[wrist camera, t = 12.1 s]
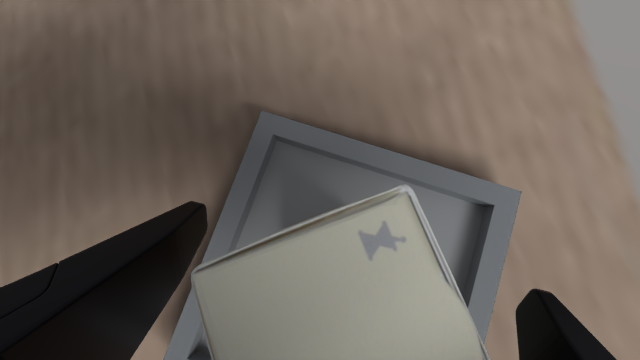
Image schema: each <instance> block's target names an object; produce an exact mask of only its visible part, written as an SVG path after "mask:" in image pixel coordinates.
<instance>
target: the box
mask: <svg viewBox="0 0 640 360" xmlns="http://www.w3.org/2000/svg"><path fill="white" fill-rule="evenodd" d="M191 283H192V288H193V292H194V295H195V299H196V303H197V307H198V311H199V315H200V318H201V322H202V325H203V329H204V332H205V337H206V341H207V345H208V349H209V352H210V355H211V359H212V360H490V357H489V355H488V353H487V351H486V348H485V346H484V344H483V342H482V339H481V337H480V335H479V333H478V330H477V328H476V326H475V324H474V321H473V319H472V317H471V314H470V312H469V310H468V308H467V305H466V303H465V301H464V299H463V297H462V295H461V293H460V290H459V288H458V286H457V284H456V281H455V279H454V277H453V275H452V272H451V270H450V268H449V266H448V264H447V262H446V260H445V257H444V255H443V253H442V251H441V249H440V247H439V245H438V242H437V240H436V238H435V236H434V234H433V231H432V229H431V227H430V225H429V222H428V220H427V218H426V216H425V214H424V212H423V210H422V208H421V206H420V204H419V201H418V199H417V196H416V194H415V192H414V191H413V189H412V188H411V187H410V186H408V185H406V184H403V185H399V186H396V187H394V188H391V189H389V190H386V191H383V192H380V193H377V194H374V195H372V196H369V197H366V198H363V199H361V200H358V201H355V202H352V203H350V204H347V205H344V206H342V207H339V208H336V209H334V210H331V211H328V212H326V213H323V214H321V215H318V216H316V217H313V218H311V219H308V220H306V221H303V222H301V223H298V224H296V225H293V226H291V227H288V228H285V229H283V230H280V231H278V232H275V233H273V234H270V235H268V236H266V237H263V238H261V239H259V240H256V241H254V242H252V243H249V244H247V245H245V246H242V247H240V248H238V249H235V250H233V251H231V252H228V253H226V254H224V255H221V256H219V257H217V258H214V259H212V260H209V261H207V262H204V263H202V264H200V265H198V266H197V267H195V268H194V270H193V271H192V273H191Z"/></svg>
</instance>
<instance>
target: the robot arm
mask: <svg viewBox="0 0 640 360" xmlns="http://www.w3.org/2000/svg"><path fill="white" fill-rule="evenodd" d="M207 226H208V224H207V212H206V206H205V205H204V204H202V203H198V202H194V201H190V202H187V203H185V204H183V205H181V206H179V207H176V208H174V209H172V210H170V211H168V212H166V213H163V214H161V215H159V216H157V217H155V218H153V219H150V220H148V221H146V222H144V223H142V224H140V225H137V226H135V227H133V228H131V229H129V230H127V231H124V232H122V233H120V234H118V235H116V236H114V237H111V238H109V239H107V240H105V241H103V242H101V243H98V244H96V245H94V246H92V247H90V248H88V249H85V250H83V251H81V252H79V253H77V254H75V255H72V256H70V257H68V258H66V259H64V260H62V261H60V262H59V264H58V263H55V264H53V265H51V266H48V267H46V268H44V269H42V270H40V271H38V272H35V273H33V274H31V275H28V276H26V277H24V278H22V279H19V280H17V281H15V282H13V283H10V284H8V285H5V286H3V287H0V360H130V359H131V357H132V356H133V354H134V353H135V351H136V350H137V348H138V347H139V345H140V344H141V342H142V341H143V339H144V337H145V336H146V334H147V333H148V331H149V330H150V328H151V327H152V325H153V324H154V322H155V321H156V319H157V317H158V316H159V314H160V313H161V311H162V310H163V308H164V307H165V305H166V304H167V302H168V301H169V299H170V298H171V296H172V294H173V293H174V291H175V290H176V288H177V287H178V285H179V284H180V282H181V280H182V279H183V277H184V275H185V273H186V271H187V269H188V267H189V265H190V263H191V261H192V259H193V257H194V255H195V253H196V251H197V249H198V248H199V246H200V244H201V242H202V240H203V238H204V236H205V234H206V231H207ZM516 325H517V337H518V349H519V360H616V359H615V358H614V356H613V355H612V354H611V353H610V352H609V351H608V350H607V349H606V348H605V347H604V346H603V345H602V344H601V343H600V342H599V341H598V340H597V339H596V338H595V337H594V336H593V335H592V334H591V333H590V332H589V331H588V330H587V329H586V328H585V327H584V326H583V325H582V324H581V322H580V321H579V320H578V319H577V318H576V317H575V316H574V315H573V314H572V313H571V312H570V311H569V310H568V309H567V308H566V307H565V306H564V305H563V304H562V303H561V302H560V301H559V300H558V299H557V298H556V297H555V296H554V295H553V294H552V293H550V292H548V291H544V290H540V289H532V290H530V291H529V293H528V294H527V295H526V296H525V298H524V299H523V300H522V301H521V303H520V304H519V305H518V307H517V309H516Z"/></svg>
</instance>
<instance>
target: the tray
mask: <svg viewBox="0 0 640 360" xmlns="http://www.w3.org/2000/svg"><path fill="white" fill-rule="evenodd" d="M403 184H406V185H408V186H410V187H411V188H412V189H413V191H414V192H415V194H416V196H417V199H418V201H419V204H420V206H421V208H422V210H423V212H424V214H425V216H426V218H427V220H428V222H429V225H430V227H431V229H432V231H433V234H434V236H435V238H436V240H437V242H438V245H439V247H440V249H441V251H442V253H443V255H444V257H445V260H446V262H447V264H448V266H449V268H450V270H451V272H452V275H453V277H454V279H455V281H456V284H457V286H458V288H459V290H460V293H461V295H462V297H463V299H464V301H465V303H466V305H467V308H468V310H469V312H470V314H471V317H472V319H473V321H474V324H475V326H476V328H477V330H478V333H479V335H480V337H481V339H482V342H483V344H484V342H485V338H486V334H487V330H488V326H489V322H490V318H491V314H492V310H493V306H494V302H495V298H496V294H497V290H498V286H499V282H500V277H501V273H502V269H503V265H504V261H505V257H506V253H507V249H508V245H509V241H510V237H511V233H512V229H513V225H514V221H515V217H516V213H517V208H518V204H519V200H520V196H521V192H522V191H518V190H515V189H512V188H509V187H506V186H502V185H499V184H496V183H493V182H489V181H486V180H483V179H480V178H477V177H473V176H470V175H467V174H464V173H461V172H457V171H454V170H451V169H448V168H445V167H441V166H438V165H435V164H432V163H429V162H425V161H422V160H419V159H416V158H413V157H409V156H406V155H403V154H400V153H397V152H393V151H390V150H387V149H384V148H380V147H377V146H374V145H371V144H368V143H364V142H361V141H358V140H355V139H352V138H348V137H345V136H342V135H339V134H336V133H332V132H329V131H326V130H323V129H320V128H316V127H313V126H310V125H307V124H304V123H300V122H297V121H294V120H291V119H288V118H284V117H281V116H278V115H275V114H271V113H268V112H265V111H261V114H260V116H259V119H258V121H257V124H256V126H255V129H254V131H253V134H252V136H251V139H250V141H249V144H248V146H247V149H246V151H245V154H244V157H243V159H242V162H241V164H240V167H239V169H238V172H237V174H236V177H235V179H234V182H233V184H232V187H231V189H230V192H229V195H228V197H227V200H226V202H225V205H224V207H223V210H222V212H221V215H220V217H219V220H218V222H217V225H216V227H215V230H214V232H213V235H212V238H211V240H210V243H209V245H208V248H207V250H206V253H205V255H204V258H203V260H202V263H204V262H207V261H209V260H212V259H214V258H217V257H219V256H221V255H224V254H226V253H228V252H231V251H233V250H235V249H238V248H240V247H242V246H245V245H247V244H249V243H252V242H254V241H256V240H259V239H261V238H263V237H266V236H268V235H270V234H273V233H275V232H278V231H280V230H283V229H285V228H288V227H291V226H293V225H296V224H298V223H301V222H303V221H306V220H308V219H311V218H313V217H316V216H318V215H321V214H323V213H326V212H328V211H331V210H334V209H336V208H339V207H342V206H344V205H347V204H350V203H352V202H355V201H358V200H361V199H363V198H366V197H369V196H372V195H374V194H377V193H380V192H383V191H386V190H389V189H391V188H394V187H396V186H399V185H403ZM202 263H201V264H202ZM163 360H212V359H211V355H210V352H209V349H208V345H207V341H206V337H205V332H204V329H203V325H202V322H201V318H200V315H199V311H198V307H197V303H196V299H195V295H194V292H193V288H191V291H190V293H189V296H188V298H187V301H186V303H185V306H184V308H183V311H182V313H181V316H180V318H179V321H178V324H177V326H176V329H175V331H174V334H173V336H172V339H171V341H170V344H169V346H168V349H167V351H166V354H165V356H164V359H163Z"/></svg>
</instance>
